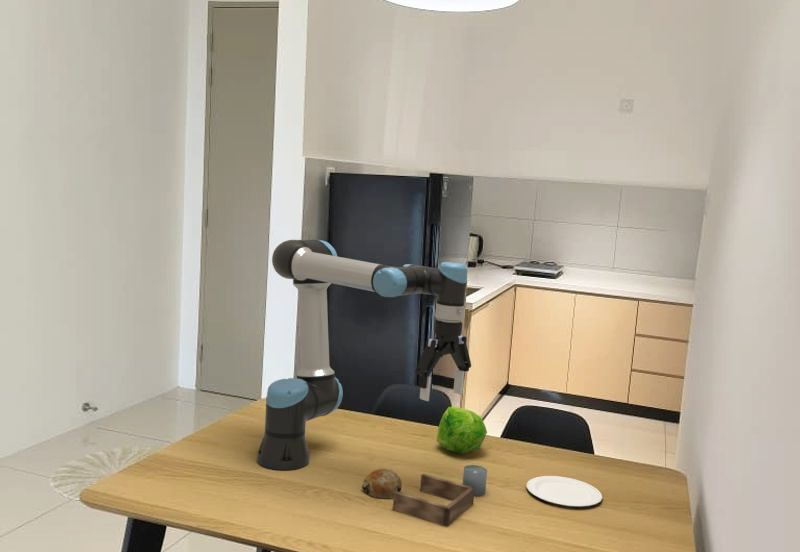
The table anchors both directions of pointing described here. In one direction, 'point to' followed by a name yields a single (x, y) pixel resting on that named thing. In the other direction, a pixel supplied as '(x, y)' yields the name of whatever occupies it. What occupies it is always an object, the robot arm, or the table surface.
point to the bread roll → (382, 483)
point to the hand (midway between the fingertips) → (441, 396)
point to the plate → (564, 491)
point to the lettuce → (461, 430)
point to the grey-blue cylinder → (475, 479)
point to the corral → (432, 510)
